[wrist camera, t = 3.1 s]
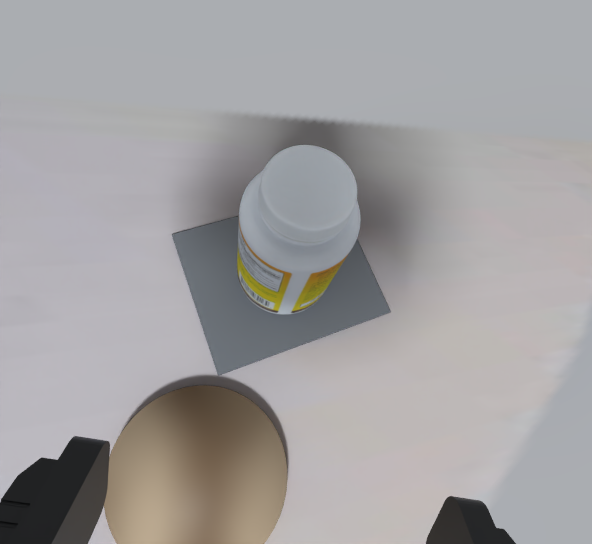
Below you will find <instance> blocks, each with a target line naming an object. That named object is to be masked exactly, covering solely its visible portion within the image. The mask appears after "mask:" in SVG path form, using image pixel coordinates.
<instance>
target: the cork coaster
mask: <svg viewBox="0 0 592 544" xmlns="http://www.w3.org/2000/svg"><path fill="white" fill-rule="evenodd" d="M286 489H287V463H286V457H285V452H284V448H283V445H282V442H281V439H280V437H279V435H278V432H277V430H276V429H275V427H274V425H273V424H272V422H271V420H270V419H269V418H268V417H267V415H266V414H265V413H264V412H263V411H262V410H261V409H260V408H259V407H258V406H257V405H256V404H255V403H253V402H252V401H251V400H249V399H248V398H246V397H244V396H243V395H241V394H239V393H237V392H234V391H232V390H229V389H226V388H221V387H217V386H207V385H203V386H191V387H184V388H181V389H177V390H174V391H171V392H169V393H167V394H164V395H162V396H160V397H159V398H157V399H155V400H154V401H152V402H150V403H149V404H148V405H147V406H145V407H144V408H143V409H141V410H140V411H139V412H138V413H137V414H136V415H135V416H134V417H133V418H132V419H131V421H130V422H129V423H128V424H127V426H126V427H125V428H124V430H123V431H122V433H121V434H120V436H119V437H118V439H117V441H116V443H115V445H114V447H113V449H112V451H111V454H110V457H109V471H108V488H107V494H106V499H105V502H104V508H105V514H106V519H107V522H108V525H109V528H110V531H111V533H112V535H113V537H114V539H115V541H116V543H117V544H264V543H265V542H266V540H267V539H268V537H269V536H270V534H271V533H272V531H273V529H274V527H275V525H276V523H277V521H278V519H279V517H280V514H281V511H282V508H283V505H284V500H285V495H286Z"/></svg>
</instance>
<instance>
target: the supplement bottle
mask: <svg viewBox="0 0 592 544" xmlns="http://www.w3.org/2000/svg"><path fill="white" fill-rule="evenodd" d="M360 223H361V217H360V209H359V205H358V202H357V184H356V180H355V177H354V175H353V173H352V171H351V169H350V167H349V166H348V165H347V164H346V163H345V162H344V161H343V160H342V159H341V158H340V157H339V156H338V155H336V154H335V153H333V152H331V151H329V150H327V149H325V148H322V147H318V146H313V145H296V146H292V147H288V148H286V149H284V150H282V151H280V152H278V153H277V154H276V155H275V156H273V157H272V158H271V159H270V161H269V162H268V163H267V165H266V167H265V169H264V170H263V171H261V172H260V173H259V174H257V175H256V176H255V177H254V178H253V179H252V180H251V182H250V183H249V184H248V186H247V188H246V189H245V191H244V193H243V196H242V199H241V203H240V209H239V229H238V255H237V274H238V279H239V283H240V285H241V288H242V290H243V291H244V293H245V295H246V296H247V297H248V298H249V299H250V300H251V301H252V302H253V303H254V304H255V305H256V306H258V307H260V308H261V309H263V310H265V311H268V312H271V313H275V314H294V313H298V312H301V311H304V310H306V309H307V308H309V307H311V306H312V305H313V304H315V303H316V302H317V301H318V300H319V299H320V297H321V296H322V295H323V293H324V292H325V290H326V289H327V287H328V285H329V284H330V282H331V281H332V279H333V277H334V276H335V274H336V273H337V271H338V270H339V268H340V266H341V265H342V263H343V262H344V260H345V259H346V257H347V255H348V254H349V252H350V251H351V249H352V248H353V246H354V244H355V242H356V240H357V237H358V234H359V230H360Z"/></svg>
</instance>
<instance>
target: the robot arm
mask: <svg viewBox="0 0 592 544" xmlns="http://www.w3.org/2000/svg"><path fill="white" fill-rule="evenodd" d="M109 452H110V443H109V441H104V440H97V439H91V438H85V437H78V436H75V437H73V438H72V439H71V440H70V442H69V443H68V445H67V446H66V448H65V449H64V451H63V453H62V454H61V456H60V457H59V459H58V460H54V459H47V458H40V459H39V460H38V461H36V462H35V463H34V464H32V465H31V466H30V467H29V468H27V469H26V470H25V471H23V472H22V473H21V474H19V475H18V476H17V478H16V479H15V480H14V482H13V483H12V485H11V486H10V488H9V489H8V490H7V492H6V493H5V495H4V496H3V498H2V499H1V502H0V544H88V542H89V539H90V537H91V535H92V533H93V531H94V528H95V526H96V524H97V522H98V519H99V517H100V514H101V512H102V509H103V506H104V502H105V499H106V494H107V488H108V471H109ZM426 544H516V543H515V542H514V541H513V540H512V538H511V537H510V536H509V535H508V534H507V532H506V531H505V530H504V529H499V528H496V527H495V524H494V522H493V520H492V518H491V515H490V513H489V511H488V509H487V507H486V505H485V504H484V503H483V502H482V501H478V500H472V499H466V498H459V497H453V496H449V497H448V498H447V499H446V500H445V502H444V504H443V506H442V508H441V510H440V512H439V514H438V517H437V519H436V521H435V523H434V525H433V527H432V529H431V531H430V533H429V535H428V537H427V541H426Z"/></svg>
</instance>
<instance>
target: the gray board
mask: <svg viewBox="0 0 592 544" xmlns="http://www.w3.org/2000/svg"><path fill="white" fill-rule="evenodd" d="M238 229H239V216H236V217H233V218H229V219H226V220H222V221H218V222H215V223H211V224H208V225H204V226H200V227H197V228H193V229H190V230H186V231H182V232H179V233H175V234H172V237H173V240H174V243H175V246H176V249H177V252H178V255H179V258H180V261H181V264H182V267H183V270H184V273H185V276H186V279H187V282H188V285H189V288H190V291H191V294H192V297H193V300H194V303H195V306H196V309H197V312H198V315H199V318H200V322H201V325H202V328H203V331H204V334H205V337H206V340H207V343H208V346H209V349H210V352H211V355H212V358H213V361H214V364H215V367H216V370H217V373H218V376H219V375H222V374H224V373H227V372H230V371H233V370H235V369H238V368H241V367H243V366H246V365H249V364H252V363H254V362H257V361H260V360H262V359H265V358H268V357H271V356H273V355H276V354H279V353H281V352H284V351H287V350H290V349H292V348H295V347H298V346H300V345H303V344H306V343H309V342H311V341H314V340H317V339H319V338H322V337H325V336H328V335H330V334H333V333H336V332H338V331H341V330H344V329H347V328H349V327H352V326H355V325H357V324H360V323H363V322H365V321H368V320H371V319H374V318H376V317H379V316H382V315H384V314H387V313H390V312H391V311H390V309H389V307H388V305H387V303H386V301H385V298H384V296H383V294H382V292H381V290H380V288H379V285H378V283H377V281H376V279H375V277H374V275H373V272H372V270H371V268H370V266H369V264H368V262H367V259H366V257H365V255H364V253H363V251H362V249H361V246H360V244H359V242H358V240H356V242H355V244H354V246H353V248H352V249H351V251H350V252H349V254H348V255H347V257H346V259H345V260H344V262H343V263H342V265H341V266H340V268H339V270H338V271H337V273H336V274H335V276H334V277H333V279H332V281H331V282H330V284H329V285H328V287H327V289H326V290H325V292H324V293H323V295H322V296H321V297H320V299H319V300H318V301H317V302H316V303H315V304H313V305H312V306H311V307H309V308H307V309H306V310H304V311H301V312H298V313H294V314H275V313H271V312H268V311H265V310H263V309H261V308H260V307H258V306H256V305H255V304H254V303H253V302H252V301H251V300H250V299H249V298H248V297H247V296H246V295H245V293H244V291H243V290H242V288H241V285H240V283H239V279H238V274H237V255H238Z"/></svg>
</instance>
